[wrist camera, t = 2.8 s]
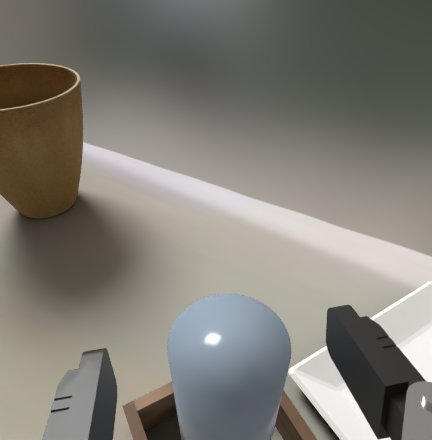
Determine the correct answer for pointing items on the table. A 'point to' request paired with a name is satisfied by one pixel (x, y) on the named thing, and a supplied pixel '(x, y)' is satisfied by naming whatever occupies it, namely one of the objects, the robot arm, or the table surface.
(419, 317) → the plate
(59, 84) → the plant pot
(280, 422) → the holder
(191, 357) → the cylinder
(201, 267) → the table surface
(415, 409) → the robot arm
